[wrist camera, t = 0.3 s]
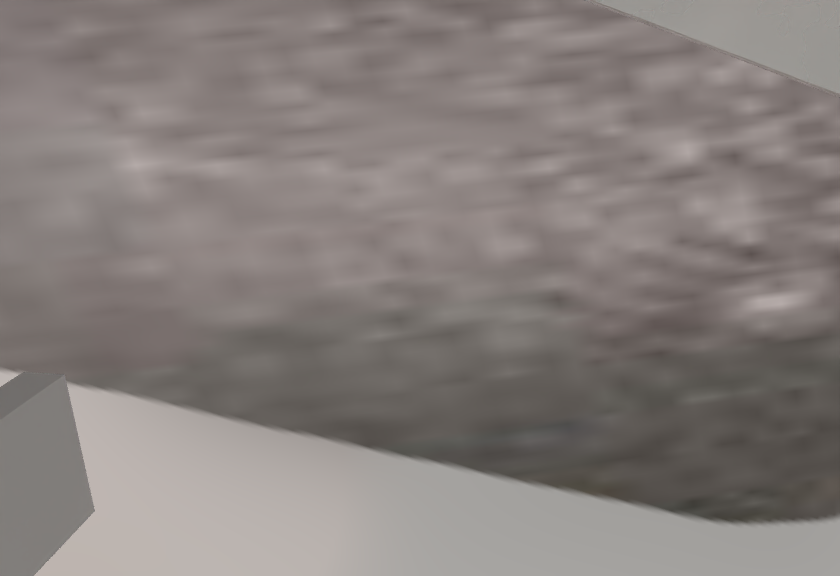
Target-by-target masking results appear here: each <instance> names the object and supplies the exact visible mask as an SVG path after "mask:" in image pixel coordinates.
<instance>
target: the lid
mask: <svg viewBox="0 0 840 576" xmlns="http://www.w3.org/2000/svg"><path fill="white" fill-rule="evenodd" d="M584 1H587V2H590V3H592V4H595V5H597V6H600V7H603V8H605V9H608V10H611V11H613V12H616V13H618V14H621V15H624V16H626V17H629V18H632V19H634V20H637V21H639V22H642V23H645V24H647V25H650V26H653V27H655V28H658V29H660V30H663V31H666V32H668V33H671V34H674V35H676V36H679V37H681V38H684V39H687V40H689V41H692V42H695V43H697V44H700V45H702V46H705V47H708V48H710V49H713V50H716V51H718V52H721V53H723V54H726V55H729V56H731V57H734V58H737V59H739V60H742V61H744V62H747V63H750V64H752V65H755V66H758V67H760V68H763V69H765V70H768V71H771V72H773V73H776V74H779V75H781V76H784V77H786V78H789V79H792V80H794V81H797V82H800V83H802V84H805V85H807V86H810V87H813V88H815V89H818V90H821V91H823V92H826V93H828V94H831V95H834V96H836V97H839V98H840V0H584Z"/></svg>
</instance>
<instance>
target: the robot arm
mask: <svg viewBox="0 0 840 576" xmlns="http://www.w3.org/2000/svg"><path fill="white" fill-rule="evenodd" d="M94 511H95V510H94V506H93V501H92V496H91V492H90V488H89V483H88V479H87V474H86V469H85V465H84V460H83V456H82V452H81V447H80V442H79V438H78V433H77V429H76V424H75V419H74V416H73V411H72V407H71V402H70V397H69V392H68V388H67V383H66V379H65V375H64V374H48V373H31V372H23V373H21V374H20V375H18V376H17V377H15V378H14V379H12V380H10V381H9V382H7V383H6V384H4V385H3V386H1V387H0V576H34V575H35V574H36V573H37V572H38V570H40V569H41V567H42V566H43V565H44V564H45V563H46V562H47V561H48V560H49V559H50V558H51V557H52V556H53V555H54V554H55V552H56V551H57V550H58V549H59V548H60V547H61V546H62V545H63V544H64V543H65V542H66V541H67V540H68V539H69V538H70V537H71V536H72V534H73V533H74V532H75V531H76V530H77V529H78V528H79V527H80V526H81V525H82V524H83V523H84V522H85V521H86V520H87V519H88V517H89V516H90V515H91V514H92V513H93V512H94Z"/></svg>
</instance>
